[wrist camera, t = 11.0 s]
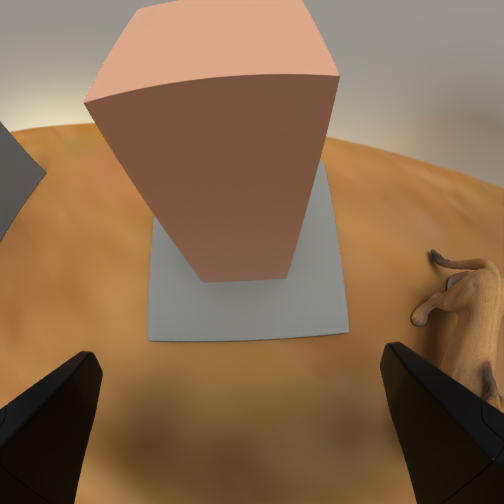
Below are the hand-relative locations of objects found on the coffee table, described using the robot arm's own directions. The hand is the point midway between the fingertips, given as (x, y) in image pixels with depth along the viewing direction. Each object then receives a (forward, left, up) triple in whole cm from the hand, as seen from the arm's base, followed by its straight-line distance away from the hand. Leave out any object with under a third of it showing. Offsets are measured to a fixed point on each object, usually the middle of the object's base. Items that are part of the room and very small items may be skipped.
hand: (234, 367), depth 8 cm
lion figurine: (+5, -11, -9) cm, 16 cm away
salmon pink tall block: (+6, +4, -9) cm, 11 cm away
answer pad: (+6, +4, -9) cm, 12 cm away
